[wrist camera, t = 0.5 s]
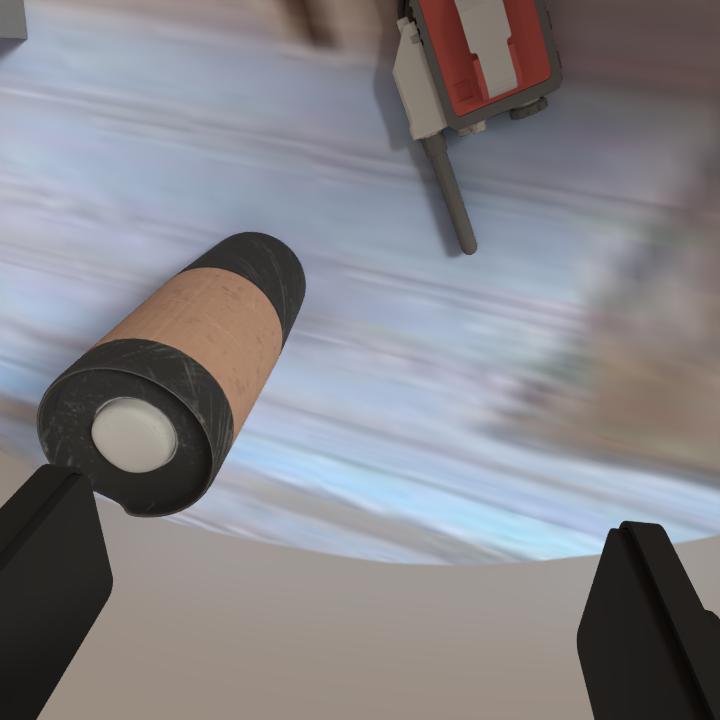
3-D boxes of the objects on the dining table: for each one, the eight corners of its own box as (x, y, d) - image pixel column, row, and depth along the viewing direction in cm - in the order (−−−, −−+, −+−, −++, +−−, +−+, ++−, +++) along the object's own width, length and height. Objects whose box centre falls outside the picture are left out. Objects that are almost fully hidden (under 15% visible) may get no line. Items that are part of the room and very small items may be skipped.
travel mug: (290, 214, 38) (171, 345, 21) (323, 318, 42) (245, 507, 24) (187, 241, 40) (-5, 384, 22) (227, 339, 43) (87, 531, 26)
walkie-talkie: (336, -85, 31) (454, 253, 39) (322, -106, 27) (457, 275, 35) (495, -173, 29) (588, 205, 37) (506, -209, 25) (607, 223, 33)
